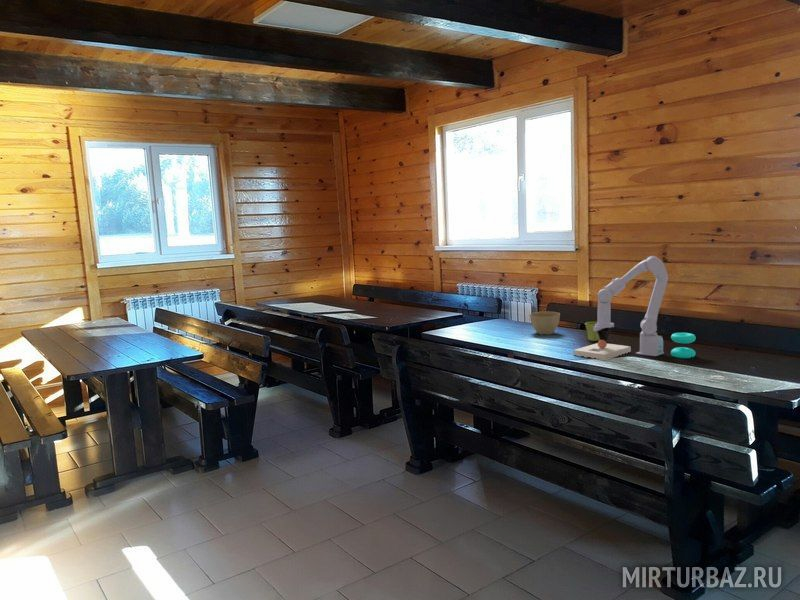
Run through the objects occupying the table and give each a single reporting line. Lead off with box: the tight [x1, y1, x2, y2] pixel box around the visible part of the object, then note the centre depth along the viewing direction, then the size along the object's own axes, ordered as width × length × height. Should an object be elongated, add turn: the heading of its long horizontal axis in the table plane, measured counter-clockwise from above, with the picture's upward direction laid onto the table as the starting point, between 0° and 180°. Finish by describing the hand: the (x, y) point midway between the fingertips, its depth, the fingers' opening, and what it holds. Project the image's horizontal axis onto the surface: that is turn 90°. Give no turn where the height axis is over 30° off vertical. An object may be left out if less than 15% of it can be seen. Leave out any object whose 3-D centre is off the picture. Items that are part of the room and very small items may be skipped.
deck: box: [573, 342, 632, 361], centre depth 290 cm, size 16×22×2 cm
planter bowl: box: [529, 311, 561, 335], centre depth 345 cm, size 16×16×11 cm
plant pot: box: [584, 321, 600, 342], centre depth 322 cm, size 9×9×9 cm
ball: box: [597, 340, 608, 348], centre depth 290 cm, size 4×4×4 cm
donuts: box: [670, 332, 697, 359], centre depth 278 cm, size 10×10×10 cm
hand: (603, 344), depth 291 cm, fingers closed, pressing on ball
